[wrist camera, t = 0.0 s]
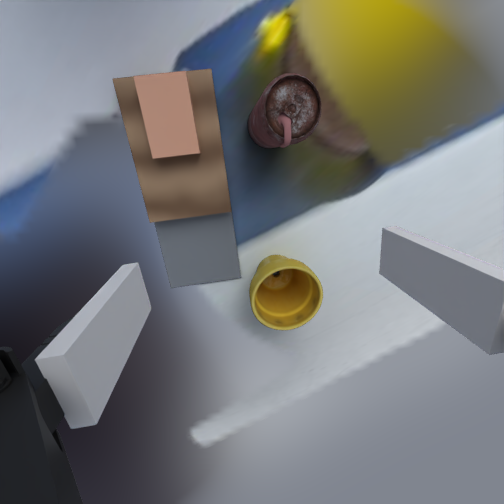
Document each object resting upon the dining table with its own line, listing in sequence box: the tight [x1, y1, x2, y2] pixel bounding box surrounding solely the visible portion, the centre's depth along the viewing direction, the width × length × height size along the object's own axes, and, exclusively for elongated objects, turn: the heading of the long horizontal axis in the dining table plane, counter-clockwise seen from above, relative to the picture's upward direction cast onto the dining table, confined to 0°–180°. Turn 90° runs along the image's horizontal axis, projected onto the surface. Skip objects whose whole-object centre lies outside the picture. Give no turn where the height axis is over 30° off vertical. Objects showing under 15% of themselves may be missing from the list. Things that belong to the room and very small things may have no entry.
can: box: [248, 73, 321, 148], centre depth 31 cm, size 6×6×14 cm
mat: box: [154, 212, 241, 288], centre depth 42 cm, size 12×12×1 cm
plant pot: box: [250, 255, 323, 330], centre depth 41 cm, size 10×10×10 cm
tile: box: [133, 71, 201, 159], centre depth 32 cm, size 9×6×2 cm, turn 7°
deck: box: [113, 69, 232, 223], centre depth 36 cm, size 18×12×2 cm, turn 7°
